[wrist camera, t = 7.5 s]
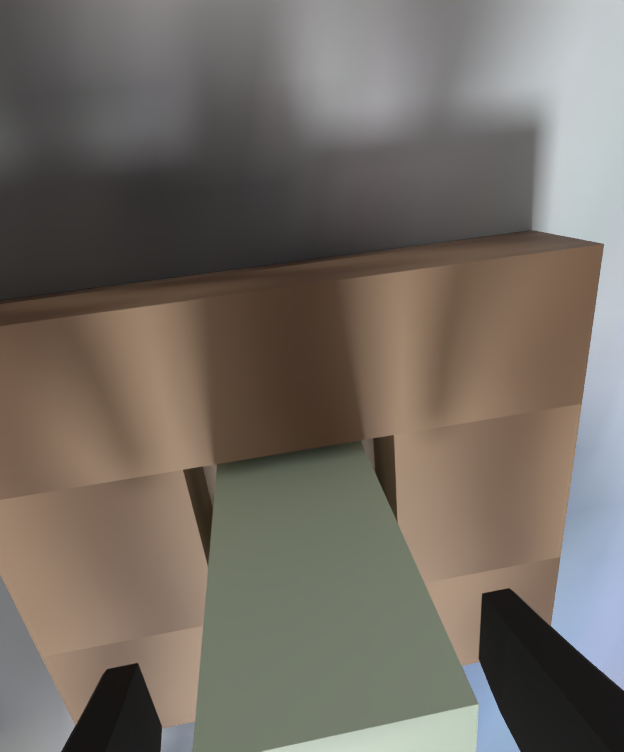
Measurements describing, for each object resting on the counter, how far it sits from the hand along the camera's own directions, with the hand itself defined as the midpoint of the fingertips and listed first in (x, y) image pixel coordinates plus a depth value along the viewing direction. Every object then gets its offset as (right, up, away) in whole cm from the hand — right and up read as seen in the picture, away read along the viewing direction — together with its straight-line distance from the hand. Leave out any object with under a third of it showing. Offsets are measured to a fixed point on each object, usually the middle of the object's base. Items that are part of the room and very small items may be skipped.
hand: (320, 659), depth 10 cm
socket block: (-1, +3, +6) cm, 7 cm away
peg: (-1, +3, +6) cm, 6 cm away
